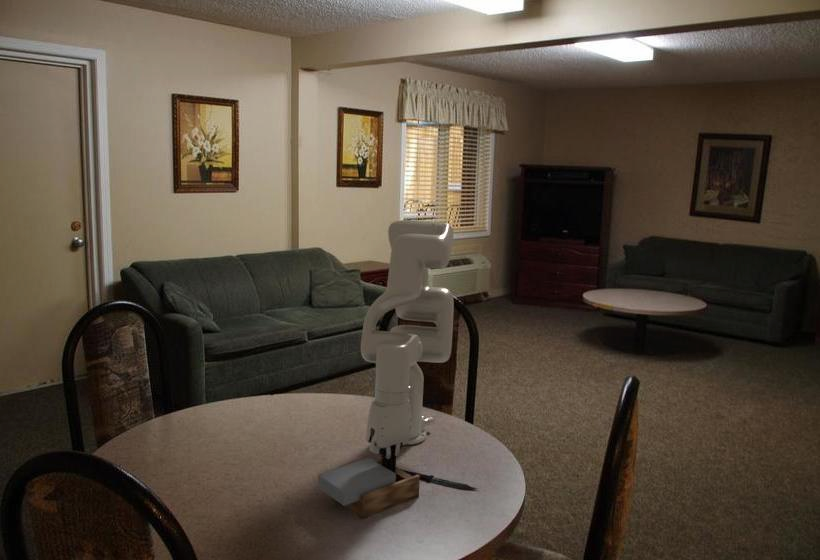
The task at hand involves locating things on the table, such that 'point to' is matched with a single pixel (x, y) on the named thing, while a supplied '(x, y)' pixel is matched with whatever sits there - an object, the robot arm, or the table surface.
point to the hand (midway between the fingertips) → (388, 471)
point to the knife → (439, 480)
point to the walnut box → (387, 495)
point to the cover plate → (355, 480)
